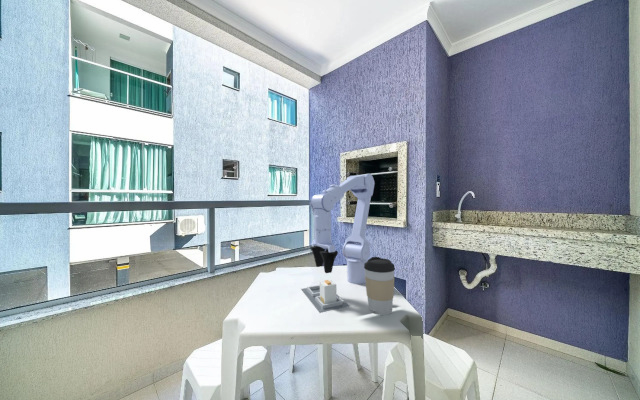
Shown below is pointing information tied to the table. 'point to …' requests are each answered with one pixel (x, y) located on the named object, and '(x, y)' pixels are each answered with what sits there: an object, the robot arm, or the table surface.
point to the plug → (328, 292)
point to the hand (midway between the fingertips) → (323, 269)
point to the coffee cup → (379, 285)
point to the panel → (314, 297)
